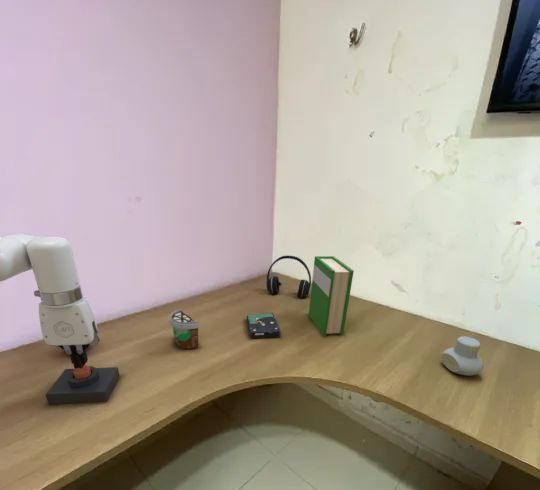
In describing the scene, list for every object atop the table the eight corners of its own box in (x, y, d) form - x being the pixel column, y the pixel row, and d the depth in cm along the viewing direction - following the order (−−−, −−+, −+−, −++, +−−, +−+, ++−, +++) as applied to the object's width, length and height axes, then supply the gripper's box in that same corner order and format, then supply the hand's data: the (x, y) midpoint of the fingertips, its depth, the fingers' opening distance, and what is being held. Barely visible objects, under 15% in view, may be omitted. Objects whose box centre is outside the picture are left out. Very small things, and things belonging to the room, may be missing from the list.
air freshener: (484, 379, 90) (497, 349, 86) (460, 381, 88) (471, 352, 84) (457, 358, 99) (466, 331, 95) (434, 360, 98) (443, 332, 94)
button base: (48, 404, 73) (43, 388, 71) (68, 378, 82) (63, 363, 80) (107, 402, 75) (103, 385, 73) (119, 376, 84) (116, 361, 82)
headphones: (264, 294, 142) (266, 255, 134) (268, 289, 148) (270, 252, 140) (308, 300, 138) (312, 260, 130) (310, 295, 144) (314, 256, 136)
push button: (71, 380, 75) (70, 374, 74) (78, 371, 78) (76, 365, 77) (87, 379, 75) (86, 373, 74) (93, 370, 78) (92, 364, 78)
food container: (165, 339, 102) (162, 312, 98) (182, 334, 106) (180, 307, 102) (182, 356, 94) (179, 327, 90) (200, 349, 98) (198, 321, 93)
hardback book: (343, 335, 110) (353, 270, 100) (323, 336, 109) (332, 270, 99) (326, 314, 126) (333, 256, 116) (308, 314, 124) (314, 256, 114)
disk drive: (280, 338, 107) (272, 318, 120) (281, 330, 106) (272, 311, 119) (250, 339, 105) (246, 319, 118) (251, 332, 104) (246, 313, 117)
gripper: (14, 302, 63) (39, 376, 71) (91, 301, 65) (108, 373, 73) (34, 289, 70) (55, 357, 78) (104, 288, 72) (118, 355, 80)
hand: (81, 365), depth 75 cm, fingers closed
